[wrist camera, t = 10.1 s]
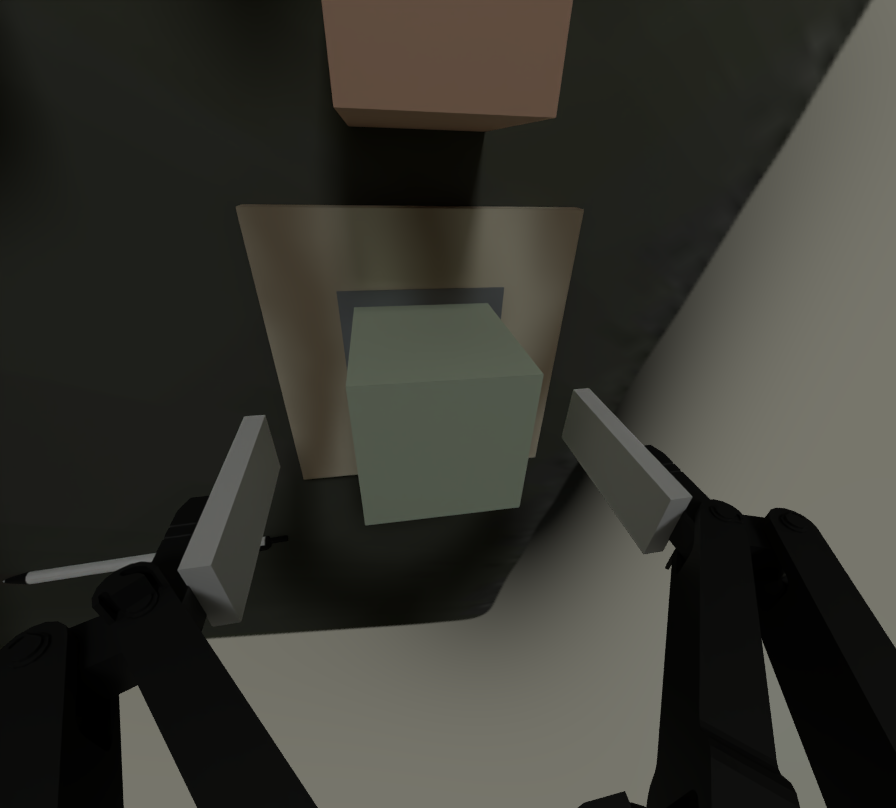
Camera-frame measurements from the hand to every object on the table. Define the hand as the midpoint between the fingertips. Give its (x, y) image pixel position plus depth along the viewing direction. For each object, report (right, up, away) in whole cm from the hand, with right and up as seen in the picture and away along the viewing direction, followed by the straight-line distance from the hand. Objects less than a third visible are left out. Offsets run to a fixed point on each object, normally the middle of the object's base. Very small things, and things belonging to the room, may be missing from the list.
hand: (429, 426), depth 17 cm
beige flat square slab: (-1, +4, +6) cm, 7 cm away
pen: (-21, -10, +12) cm, 26 cm away
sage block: (-1, +3, +5) cm, 6 cm away
